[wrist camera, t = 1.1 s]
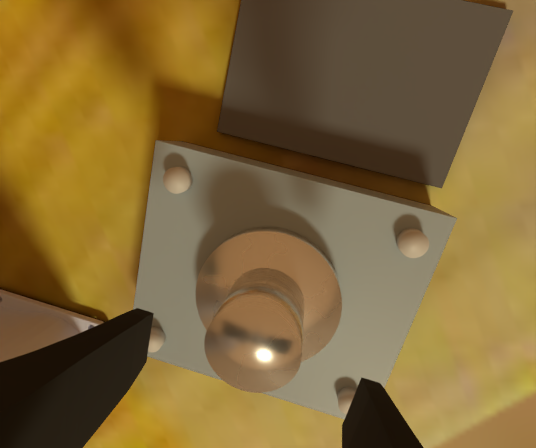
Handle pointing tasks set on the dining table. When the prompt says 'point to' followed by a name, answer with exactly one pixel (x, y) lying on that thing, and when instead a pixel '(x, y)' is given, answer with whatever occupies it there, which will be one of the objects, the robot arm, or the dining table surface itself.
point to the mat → (361, 79)
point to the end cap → (266, 306)
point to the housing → (306, 224)
